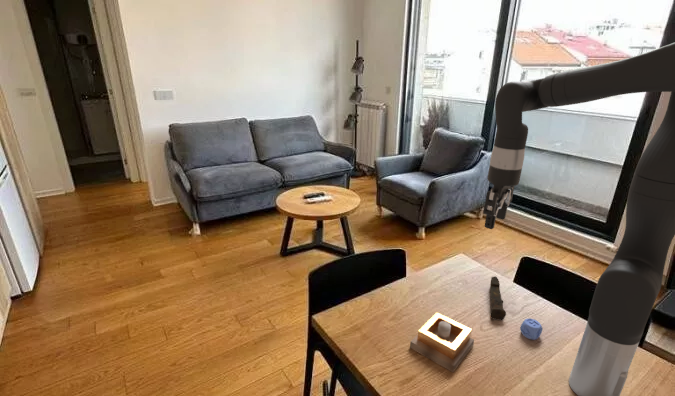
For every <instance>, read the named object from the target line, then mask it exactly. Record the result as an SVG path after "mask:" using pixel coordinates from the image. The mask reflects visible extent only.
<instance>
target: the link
mask: <svg viewBox="0 0 675 396" xmlns="http://www.w3.org/2000/svg"><path fill="white" fill-rule="evenodd" d="M441 321H445V322H448V323H449V324H450V325H451V329H450V333H452V334H454V335H456V336H458V337H457V338H456V339H455V341H454V342H453V343H452V344H451V343H449V342H447V341H446V340H444V339H442V338H440V337H438V336H436V335H434V334H432V332H433V331H434V330H435V329H436V328H437V327H438V326H439V322H441ZM417 335H418V338H417V340H418V341H420V342H422V343H424V344H426V345H427V346H429V347H431V348H433V349H435V350H436V351H438V352H440V353H442V354H444V355H446V356H447V357H449V358H451V359H453V360H454V358H455V357H456V356H457V354H458V353H459V352H460V351H461V349H462V348H463V347H464V346H465V344H466V343H467V342H468V340H469V339H470V338H471V336H472V328H470V327H468V326H466V325H464V324H462V323H460V322H457V321H455V320H453V319H452V318H449V317H448V316H445V315H443V314H441V313H439V312H435V314H434V315H432V317H431V318H430V319H428V320H427V322H425V323H424V325H422V326H421V327H420V328H419V329H418V333H417Z"/></svg>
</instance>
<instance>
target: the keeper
mask: <svg viewBox="0 0 675 396" xmlns="http://www.w3.org/2000/svg"><path fill="white" fill-rule="evenodd" d="M450 329H451V325H450V324H449V323H448V322H445V321H441V322H439V326H438V327H437V328H436V329H435V330H434V331H433V332H432V334H434V335H436V336H438V337H440V338H442V339H444V340H446V341H447V342H449V343H451V344H452V343H453V342H454V341H455V339H456V338H457V337H458V336H456V335H454V334H452V333H450ZM417 338H418V334H416V335H415V336H414V337H413V338H412V339H411V340H410V342H409V343H410V344H409V349H411V350H413V351H415V352H417V353H419V354H421V355H422V356H423V357H426V358H427V359H428V360H430V361H432V362H434V363H436V364H437V365H439V366H441V367H443V368H444V369H446V370H448V371H449V372H452V373H454V372H455V371H456V369H457V368H458V366H459V365H460V364H461V363H462V361H463V360H464V359H465V358H466V356H467V354H469V352H470V351H471V349H472V348H473V347H474V342H475V339H474V338H472V337H470V339H469V340H468V342H467V343H466V344H465V346H464V347H463V348H462V349H461V351H460V352H459V353H458V354H457V356H456V357H455V358H454V360H453V359H451V358H449V357H447V356H446V355H444V354H442V353H440V352H438V351H436V350H435V349H433V348H431V347H429V346H427V345H426V344H424V343H422V342H420V341H418V340H417Z"/></svg>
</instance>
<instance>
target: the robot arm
mask: <svg viewBox="0 0 675 396" xmlns="http://www.w3.org/2000/svg"><path fill="white" fill-rule="evenodd" d="M658 92H659V93H663V92H664V93H665V92H666V93H667V92H669V93H670V96H669V100H668V104H667V108H666V111H665V114H664V116H663V119H662V121H661V124H660V125H659V127H658V129H656V132H655V133H654V135H652V138H651V140H650V141H649V142H648V145H647V146H646V148H645V149H644V151H643V153H642V154H641V156H640V158H639V160H638V162H637V164H636V168H635V169H634V173H633V177H632V179H631V183H630V186H629V190H628V193H627V194H628V195H627V199H626V209H625V212H626V213H625V228H624V233H623V235H622V236H623V237H622V239H621V242H620V243H619V246H618V249H617V251H616V252H615V255H614V257H613V259H612V261H611V262H610V263H609V265H608V266H607V267H606V268H605V270H604V271H603V272H602V274H601V275H600V277H599V279H598V281H597V283H596V287H595V289H594V293H593V296H592V300H591V302H590V303H591V304H590V307H589V310H588V319H587V322H586V325H585V329H584V331H583V334H582V337H581V340H580V344H579V347H578V350H577V352H576V353H577V354H576V357H575V359H574V362H573V365H572V369H571V372H570V374H569V378H568V383H569V386H570V388H571V390H572V391H573V392H574V393H575V394H576V395H577V396H621V395H622V390H623V389H624V385H625V384H626V381H627V379H628V376H629V375H628V374H629V369H630V368H631V364H632V362H633V359H634V356H635V354H636V352H637V349H638V346H639V344H640V341H641V339H642V337H643V335H644V331H645V328H646V324H647V322H648V320H649V319H650V315H651V312H652V309H653V308H654V305H655V303H656V300H657V298H658V296H659V293H660V292H661V288H662V285H663V277H664V273H665V265H666V261H667V257H668V253H669V250H670V246H671V244H672V241H673V240H674V237H675V42H672V43H670V44H667V45H664V46H661V47H659V48H656V49H652V50H651V51H648V52H644V53H641V54H638V55H634V56H631V57H628V58H623V59H620V60H615V61H610V62H607V63H600V64H596V65H595V64H594V65H590V66H584V67H581V68H574V69H570V70H565V71H560V72H556V73H552V74H549V75H547V76H545V77H543V78H540V79H539V78H538V79H534V80H533V79H532V80H527V81H525V80H523V81H520V80H519V81H509V82H506V83H505V84H503V85H502V86H501V87H500V89H499V90H498V91H497V95H496V97H495V104H494V105H495V106H494V109H495V122H496V132H495V137H494V138H495V139H494V143H493V149H492V151H491V155H490V160H489V161H490V162H489V167H488V172H487V173H488V174H487V181H488V182H489V183H491V184H492V185H493V187H492V188H491V189H490V190H488V191H486V197H485V201H484V207H483V212H482V213H483V214H484V215H486V216H485V221H484V228H487V229H489V230H493V229H494V228H495V223H496V219H499V220H505V219H506V216H507V211H508V207H509V206H510V203H512V201H513V196H514V195H513V194H514V190H515V186H518V185H519V184H520V179H521V176H522V171H523V167H524V166H523V165H524V161H525V149H526V145H527V140H528V137H529V136H528V135H529V127H528V125H527V124H526V123H523V113H524V112H532V111H536V110H541V109H545V108H549V107H550V108H556V107H563V106H570V105H577V104H583V103H589V102H593V101H597V100H602V99H607V98H611V97H615V96H621V95H622V96H623V95H630V94H638V93H658Z"/></svg>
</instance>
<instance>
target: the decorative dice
mask: <svg viewBox="0 0 675 396" xmlns="http://www.w3.org/2000/svg"><path fill="white" fill-rule="evenodd" d="M519 329H520V332H521V334H522V335H523V337H525V338H527V339H529V340H538V339H539V338H540V336H541V335H542V332H543V326H542V324H541V323H540V322H539V321H538V320H536V319H535V318H525V319H524V320H523V321H522V323H521V325H520V328H519Z"/></svg>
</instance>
